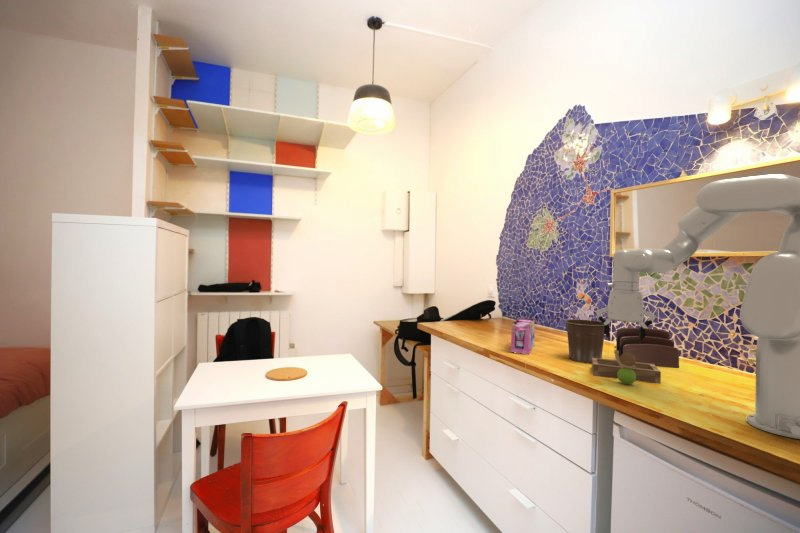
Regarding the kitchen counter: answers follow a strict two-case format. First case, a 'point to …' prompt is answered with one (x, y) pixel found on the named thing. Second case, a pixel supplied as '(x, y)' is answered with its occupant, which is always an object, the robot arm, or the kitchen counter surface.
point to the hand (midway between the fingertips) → (623, 338)
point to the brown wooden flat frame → (611, 367)
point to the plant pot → (585, 339)
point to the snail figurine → (625, 367)
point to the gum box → (522, 335)
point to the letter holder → (648, 346)
